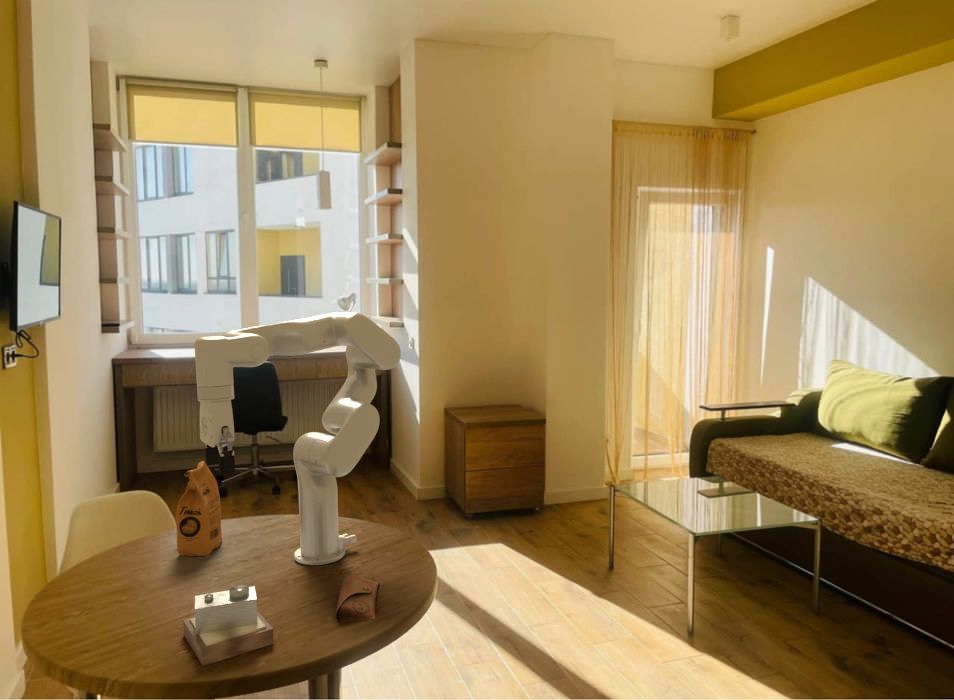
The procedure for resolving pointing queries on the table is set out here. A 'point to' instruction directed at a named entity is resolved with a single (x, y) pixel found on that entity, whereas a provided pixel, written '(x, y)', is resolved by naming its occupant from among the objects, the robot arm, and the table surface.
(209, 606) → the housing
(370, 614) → the sunglasses case
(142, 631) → the table surface
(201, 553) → the coffee package
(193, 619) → the stand
